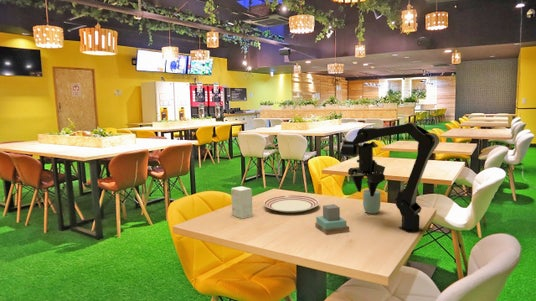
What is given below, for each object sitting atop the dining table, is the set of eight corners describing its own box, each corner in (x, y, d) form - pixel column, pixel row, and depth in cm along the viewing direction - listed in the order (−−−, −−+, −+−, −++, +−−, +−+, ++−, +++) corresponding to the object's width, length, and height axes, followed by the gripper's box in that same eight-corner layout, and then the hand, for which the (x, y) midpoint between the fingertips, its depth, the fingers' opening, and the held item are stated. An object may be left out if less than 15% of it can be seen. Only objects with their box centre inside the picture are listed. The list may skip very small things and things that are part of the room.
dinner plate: (317, 217, 172) (317, 209, 171) (258, 215, 177) (257, 208, 177) (321, 201, 198) (321, 195, 198) (269, 200, 204) (269, 194, 203)
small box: (253, 216, 175) (252, 188, 174) (241, 219, 171) (240, 190, 170) (242, 212, 181) (241, 185, 180) (231, 215, 177) (230, 187, 176)
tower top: (346, 227, 150) (346, 220, 150) (325, 229, 148) (325, 223, 148) (336, 220, 159) (336, 214, 159) (316, 222, 157) (316, 216, 156)
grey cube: (339, 219, 152) (339, 207, 151) (328, 221, 151) (328, 208, 150) (334, 216, 157) (334, 204, 156) (323, 217, 155) (322, 205, 155)
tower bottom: (349, 232, 151) (349, 226, 150) (326, 236, 148) (326, 230, 147) (336, 225, 160) (336, 219, 160) (315, 228, 157) (315, 222, 157)
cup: (382, 214, 171) (382, 193, 170) (365, 215, 171) (365, 193, 170) (377, 210, 179) (378, 189, 178) (361, 210, 179) (361, 189, 178)
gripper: (396, 159, 153) (395, 196, 155) (369, 153, 171) (368, 187, 172) (372, 161, 149) (372, 199, 151) (347, 155, 167) (347, 190, 169)
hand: (365, 194), depth 161 cm, fingers open, 9 cm apart
